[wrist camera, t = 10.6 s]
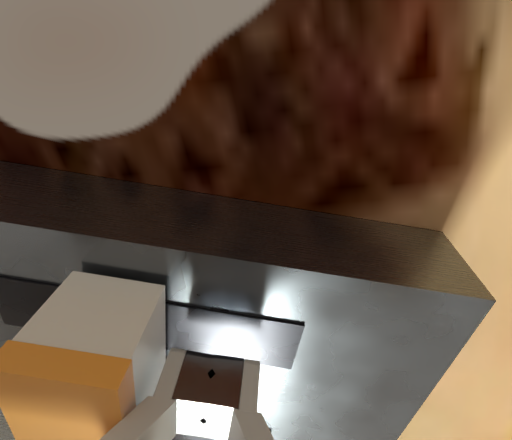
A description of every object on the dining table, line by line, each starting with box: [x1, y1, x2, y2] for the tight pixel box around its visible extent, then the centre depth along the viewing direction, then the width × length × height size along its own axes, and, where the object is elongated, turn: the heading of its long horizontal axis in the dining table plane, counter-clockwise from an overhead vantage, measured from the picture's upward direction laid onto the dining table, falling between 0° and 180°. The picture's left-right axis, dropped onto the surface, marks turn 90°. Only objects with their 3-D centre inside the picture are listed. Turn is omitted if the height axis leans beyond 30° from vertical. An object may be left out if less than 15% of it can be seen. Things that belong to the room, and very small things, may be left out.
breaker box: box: [0, 161, 496, 440], centre depth 14 cm, size 22×14×8 cm, turn 82°
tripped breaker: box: [0, 271, 166, 440], centre depth 10 cm, size 3×4×4 cm
